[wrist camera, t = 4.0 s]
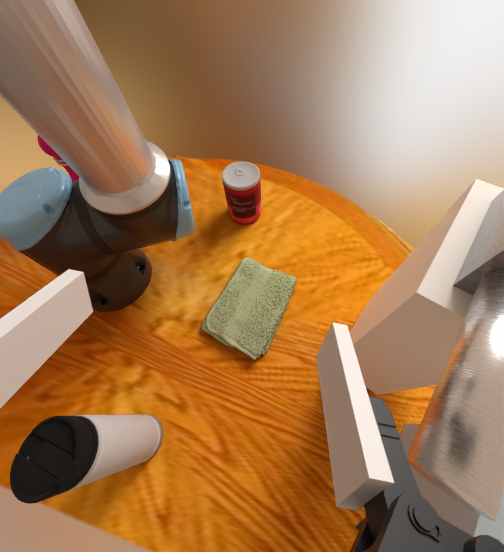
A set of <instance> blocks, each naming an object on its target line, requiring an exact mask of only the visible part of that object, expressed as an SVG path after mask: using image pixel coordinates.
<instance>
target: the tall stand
mask: <svg viewBox="0 0 504 552" xmlns="http://www.w3.org/2000/svg"><path fill="white" fill-rule="evenodd" d="M503 190H504V188H501V187H498V186H495V185H492V184H489V183H487V182H484V181H481V180H478V179H476V180H475V181H474V182H473V183H472V184H471V185H470V187H469V188H468V189H467V190H466V191H465V192H464V193H463V195H462V196H461V197H460V198H459V199H458V200H457V201H456V203H455V204H454V205H453V206H452V207H451V208H450V209H449V210H448V212H447V213H446V214H445V215H444V216H443V217H442V218H441V220H440V221H439V222H438V223H437V224H436V225H435V226H434V227H433V229H432V230H431V231H430V232H429V233H428V234H427V235H426V237H425V238H424V239H423V240H422V241H421V242H420V243H419V245H418V246H417V247H416V248H415V249H414V250H413V251H412V252H411V254H410V255H409V256H408V257H407V258H406V259H405V260H404V262H403V263H402V264H401V265H400V266H399V267H398V268H397V269H396V271H395V272H394V273H393V274H392V275H391V276H390V277H389V279H388V280H387V281H386V282H385V283H384V284H383V285H382V287H381V288H380V289H379V290H378V291H377V292H376V293H375V294H374V296H373V297H372V298H371V299H370V300H369V301H368V303H367V305H366V306H365V308H364V310H363V311H362V313H361V315H360V316H359V318H358V319H357V321H356V323H355V324H354V326H353V328H352V329H351V331H350V336H351V340H352V343H353V346H354V350H355V353H356V356H357V360H358V363H359V366H360V370H361V373H362V376H363V380H364V383H365V386H366V388H367V389H369V390H370V391H372V392H373V393H374V394H376V395H379V394H385V393H391V392H396V391H402V390H408V389H413V388H419V387H425V386H430V385H436V384H437V383H438V381H439V378H440V376H441V374H442V371H443V369H444V366H445V364H446V362H447V359H448V357H449V354H450V352H451V350H452V347H453V345H454V342H455V340H456V338H457V335H458V333H459V330H460V328H461V326H462V323H463V321H464V318H465V316H466V314H467V311H468V309H469V306H470V304H471V301H472V299H473V297H474V296H473V295H471V294H469V293H467V292H465V291H463V290H461V289H459V288H457V287H455V286H453V284H454V282H455V280H456V277H457V275H458V273H459V271H460V269H461V267H462V264H463V262H464V260H465V258H466V256H467V254H468V252H469V249H470V247H471V245H472V243H473V241H474V239H475V237H476V234H477V232H478V230H479V228H480V226H481V224H482V221H483V219H484V217H485V215H486V213H487V211H488V209H489V206H490V204H491V202H492V200H493V199H494V198H495V197H496V196H497V195H499V194H500V193H501V192H502V191H503Z"/></svg>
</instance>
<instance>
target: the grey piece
mask: <svg viewBox="0 0 504 552" xmlns="http://www.w3.org/2000/svg"><path fill="white" fill-rule="evenodd" d="M453 286H455V287H457V288H459V289H461V290H463V291H465V292H467V293H469V294H471V295H473V296H474V297H473V299H472V301H471V304H470V306H469V309H468V311H467V314H466V316H465V318H464V321H463V323H462V326H461V328H460V330H459V333H458V335H457V338H456V340H455V342H454V345H453V347H452V350H451V352H450V354H449V357H448V359H447V362H446V364H445V366H444V369H443V371H442V374H441V376H440V378H439V381H438V383H437V386H436V388H435V390H434V393H433V395H432V398H431V400H430V402H429V405H428V407H427V410H426V412H425V414H424V417H423V419H422V422H421V424H420V426H419V429H418V431H417V434H416V436H415V438H414V441H413V443H412V446H411V448H410V451H409V453H408V455H407V459H408V462H409V464H410V466H411V467H412V468H414V469H415V470H416V471H417V472H418V473H419V474H421V475H422V476H423V477H424V478H426V479H427V480H428V481H430V482H431V483H432V484H434V485H435V486H436V487H438V488H439V489H440V490H442V491H443V492H445V493H446V494H448V495H449V496H451V497H452V498H454V499H455V500H457V501H458V502H460V503H461V504H463V505H464V506H466V507H468V508H469V509H471V510H473V511H474V512H476V513H478V514H480V515H482V516H483V517H485V518H488V519H490V520H492V521H496V519H497V515H498V511H499V507H500V503H501V499H502V496H503V492H504V190H503V191H502V192H501V193H500V194H499V195H497V196H496V197H495V198H494V199H493V200H492V202H491V204H490V206H489V209H488V211H487V213H486V215H485V217H484V219H483V221H482V224H481V226H480V228H479V230H478V232H477V234H476V237H475V239H474V241H473V243H472V245H471V247H470V249H469V252H468V254H467V256H466V258H465V260H464V262H463V264H462V267H461V269H460V271H459V273H458V275H457V277H456V280H455V282H454V284H453Z"/></svg>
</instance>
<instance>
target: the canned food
mask: <svg viewBox="0 0 504 552" xmlns="http://www.w3.org/2000/svg"><path fill="white" fill-rule="evenodd" d="M222 180H223V186H224V190H225V195H226V200H227V205H228V210H229V214H230V216H231V218H232V219H233V220H234V221H235V222H237V223H239V224H250V223H253V222H255V221H256V220H257V219H258V218H259V216H260V213H261V186H260V173H259V170H258V168H257V167H256V166H255V165H254V164H252V163H249V162H243V161H241V162H235V163H232V164H230V165H228V166H227V167H226V168H225V169H224V171H223V173H222Z"/></svg>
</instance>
